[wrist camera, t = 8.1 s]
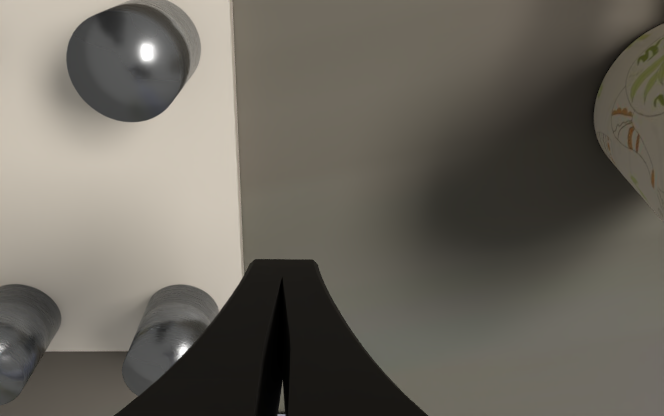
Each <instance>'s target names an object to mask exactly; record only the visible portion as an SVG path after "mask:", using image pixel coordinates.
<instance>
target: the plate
mask: <svg viewBox="0 0 664 416" xmlns="http://www.w3.org/2000/svg"><path fill="white" fill-rule="evenodd" d="M127 1H129V0H0V287H1V286H4V285H8V284H22V285H27V286H31V287H34V288H36V289H39V290H41V291H42V292H44V293H45V294H47V295H48V296H49V297H50V298H51V299H52V300H53V301H54V302H55V303H56V305H57V306H58V308H59V310H60V313H61V325H60V328H59V330H58V331H57V333H56V335H55V336H54V338H53V340H52V341H51V343H50V344H49V346H48V348H47V349H46V351H45V352H47V351H129V348H130V346H131V343H132V341H133V338H134V336H135V334H136V331H137V329H138V326H139V324H140V321H141V319H142V317H143V314H144V312H145V309H146V307H147V304H148V302H149V300H150V298H151V297H152V296H153V295H154V294H155V293H156V292H157V291H158V290H160V289H162V288H164V287H167V286H170V285H178V284H183V285H190V286H194V287H197V288H199V289H201V290H203V291H205V292H206V293H208V294H209V295H210V296H211V297H212V298H213V299H214V301H215V302H216V304H217V306H218V309H219V312H220V310H221V309H222V307H223V306H224V305H225V303H226V302H227V301H228V299H229V298H230V296H231V295H232V294H233V292H234V290H235V289H236V287H237V286H238V284H239V283H240V281H241V279H242V278H243V276H244V262H243V239H242V215H241V192H240V169H239V145H238V122H237V98H236V75H235V51H234V28H233V4H232V0H168V1H170V2H172V3H174V4H175V5H177V6H178V7H180V8H181V9H182V10H183V11H184V12H185V13H186V14H187V15H188V16H189V17H190V19H191V20H192V22H193V23H194V25H195V27H196V29H197V32H198V34H199V38H200V43H201V56H200V61H199V64H198V66H197V69H196V70H195V72H194V74H193V75H192V76H191V78H190V79H189V80H188V82H187V83H186V84H185V86H184V87H183V88H182V90H181V91H180V92H179V94H178V95H177V96H176V98H175V99H174V101H173V102H172V103H171V104H170V106H169V107H168V108H167V109H166V110H165V111H164V112H163V113H161V114H159V115H158V116H156V117H154V118H152V119H149V120H146V121H141V122H122V121H117V120H114V119H111V118H108V117H106V116H104V115H102V114H100V113H99V112H97V111H95V110H94V109H93V108H92V107H90V106H89V105H88V104H87V103H86V102H85V101H84V100H83V99H82V98H81V97H80V95H79V94H78V92H77V91H76V89H75V88H74V86H73V84H72V82H71V79H70V77H69V73H68V69H67V63H66V53H67V47H68V43H69V40H70V38H71V36H72V34H73V32H74V31H75V30H76V28H77V27H78V26H79V25H80V24H81V23H82V22H83V21H85V20H86V19H87V18H89V17H91V16H93V15H95V14H98V13H100V12H103V11H105V10H107V9H110V8H112V7H115V6H117V5H119V4H122V3H124V2H127Z"/></svg>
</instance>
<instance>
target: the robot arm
mask: <svg viewBox="0 0 664 416" xmlns="http://www.w3.org/2000/svg"><path fill="white" fill-rule="evenodd" d="M282 380H283V389H284V403H285V414H278V408H279V401H280V394H281V387H282ZM114 416H428V415H427V414H426V413H425V412H424V411H422V410H421V409H420V408H419V407H418V406H417V405H416V404H415V403H414V402H413V401H411V400H410V399H409V398H408V397H407V396H406V395H405V394H404V393H403V392H402V391H401V390H400V389H399V388H398V387H397V386H396V385H395V384H394V383H393V382H392V381H391V379H390V378H389V377H388V376H387V375H386V374H385V373H384V372H383V371H382V369H381V368H380V367H379V366H378V365H377V364H376V363H375V361H374V360H373V359H372V358H371V356H370V355H369V354H368V353H367V351H366V350H365V349H364V347H363V346H362V345H361V343H360V342H359V340H358V339H357V338H356V336H355V335H354V333H353V332H352V331H351V329H350V328H349V326H348V325H347V323H346V321H345V320H344V318H343V317H342V315H341V313H340V312H339V310H338V308H337V307H336V305H335V303H334V301H333V299H332V298H331V296H330V294H329V292H328V290H327V288H326V286H325V284H324V281H323V279H322V277H321V274H320V271H319V268H318V264H317V263H316V262H315V261H314V260H285V259H255V260H254V261H253V262H252V263H250V265H249V267H248V269H247V271H246V273H245V274H244V276H243V278H242V279H241V281H240V283H239V284H238V286H237V287H236V289H235V290H234V292H233V294H232V295H231V296H230V298H229V299H228V301H227V302H226V303H225V305H224V306H223V307H222V309H221V310H220V312H219V313H218V314H217V316H216V317H215V318H214V320H213V321H212V322H211V323H210V324H209V326H208V327H207V328H206V329H205V330H204V332H203V333H202V334H201V335H200V336H199V338H198V339H197V340H196V341H195V342H194V343H193V345H192V346H191V347H190V348H189V349H188V350H187V351H186V352H185V353H184V354H183V355H182V356H181V357H180V358H179V359H178V360H177V361H176V362H175V363H174V364H173V365H172V366H171V367H170V368H169V369H168V370H167V371H166V372H165V373H164V374H163V375H162V376H161V377H160V378H159V379H158V380H156V381H155V382H154V383H153V384H152V385H151V386H150V387H148V388H147V389H146V390H145V391H144V392H143V393H142V394H140V395H139V396H138V397H137V398H136V399H135V400H133V401H132V402H131V403H130V404H128V405H127V406H126V407H125V408H123V409H122V410H121V411H120V412H118V413H117V414H115V415H114Z"/></svg>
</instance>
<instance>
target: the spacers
mask: <svg viewBox="0 0 664 416" xmlns="http://www.w3.org/2000/svg"><path fill="white" fill-rule="evenodd" d="M200 56H201V43H200V38H199V34H198V32H197V29H196V27H195V25H194V23H193V22H192V20H191V19H190V17H189V16H188V15H187V14H186V13H185V12H184V11H183V10H182V9H181V8H180V7H178V6H177V5H175V4H174V3H172V2H170V1H168V0H129V1H127V2H124V3H122V4H119V5H117V6H115V7H112V8H110V9H107V10H105V11H103V12H100V13H98V14H95V15H93V16H91V17H89V18H87V19H86V20H85V21H83V22H82V23H81V24H80V25H79V26H78V27H77V28H76V30H75V31H74V32H73V34H72V36H71V38H70V40H69V43H68V47H67V53H66V63H67V69H68V73H69V77H70V79H71V82H72V84H73V86H74V88H75V89H76V91H77V92H78V94H79V95H80V97H81V98H82V99H83V100H84V101H85V102H86V103H87V104H88V105H89V106H90V107H92V108H93V109H94V110H95V111H97V112H99V113H100V114H102V115H104V116H106V117H108V118H111V119H114V120H117V121H122V122H141V121H146V120H149V119H152V118H154V117H156V116H158V115H159V114H161V113H163V112H164V111H165V110H166V109H167V108H168V107H169V106H170V104H171V103H172V102H173V101H174V99H175V98H176V96H177V95H178V94H179V92H180V91H181V90H182V88H183V87H184V86H185V84H186V83H187V82H188V80H189V79H190V78H191V76H192V75H193V74H194V72H195V70H196V69H197V66H198V64H199V61H200ZM218 313H219V309H218V306H217V304H216V302H215V301H214V299H213V298H212V297H211V296H210V295H209V294H208V293H206V292H205V291H203V290H201V289H199V288H197V287H194V286H190V285H183V284H178V285H170V286H167V287H164V288H162V289H160V290H158V291H157V292H156V293H155V294H154V295H153V296H152V297H151V298H150V300H149V302H148V304H147V307H146V309H145V312H144V314H143V317H142V319H141V321H140V324H139V326H138V329H137V331H136V334H135V336H134V338H133V341H132V343H131V346H130V348H129V351H128V353H127V355H126V358H125V360H124V363H123V367H122V375H123V378H124V381H125V383H126V384H127V386H128V387H129V388H130V390H131V391H132V392H134V393H135V394H136V395H138V396H139V395H140V394H142V393H143V392H144V391H145V390H146V389H147V388H148V387H150V386H151V385H152V384H153V383H154V382H155V381H156V380H158V379H159V378H160V377H161V376H162V375H163V374H164V373H165V372H166V371H167V370H168V369H169V368H170V367H171V366H172V365H173V364H174V363H175V362H176V361H177V360H178V359H179V358H180V357H181V356H182V355H183V354H184V353H185V352H186V351H187V350H188V349H189V348H190V347H191V346H192V345H193V343H194V342H195V341H196V340H197V339H198V338H199V336H200V335H201V334H202V333H203V332H204V330H205V329H206V328H207V327H208V326H209V324H210V323H211V322H212V321H213V320H214V318H215V317H216V316H217V314H218ZM60 325H61V313H60V310H59V308H58V306H57V305H56V303H55V302H54V301H53V300H52V299H51V298H50V297H49V296H48V295H47V294H45V293H44V292H42V291H41V290H39V289H36V288H34V287H31V286H27V285H22V284H8V285H4V286H1V287H0V405H3V404H6V403H8V402H10V401H12V400H14V399H15V398H16V397H17V396H18V395H19V394H20V392H21V391H22V389H23V387H24V386H25V384H26V382H27V381H28V379H29V377H30V376H31V374H32V372H33V371H34V369H35V368H36V366H37V364H38V363H39V361H40V359H41V358H42V356H43V354H44V353H45V351H46V349H47V348H48V346H49V344H50V343H51V341H52V340H53V338H54V336H55V335H56V333H57V331H58V330H59V328H60Z"/></svg>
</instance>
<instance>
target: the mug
mask: <svg viewBox="0 0 664 416" xmlns="http://www.w3.org/2000/svg"><path fill="white" fill-rule="evenodd" d="M594 127H595V132H596V136H597V139H598V141H599V144H600V146H601V148H602V149H603V151H604V153H605V154H606V155H607V157H608V158H609V159H610V160H611V162H612V163H613V164H614V165H615V166H616V168H617V169H618V170H619V171H620V172H621V173H622V175H623V176H624V177H625V178H626V179H627V180H628V182H629V183H630V184H631V185H632V186H633V187H634V189H635V190H636V191H637V192H638V193H639V194H640V196H641V197H642V198H643V199H644V200H645V201H646V203H647V204H648V205H649V206H650V207H651V208H652V210H653V211H654V212H655V213H656V214H657V215H658V217H659V218H660V219H661V220H662V221H663V222H664V24H661V25H659V26H657V27H655V28H653V29H651V30H650V31H648V32H646V33H645V34H643V35H642V36H640V37H639V38H638V39H636V40H635V41H634V42H633V43H632V44H630V45H629V46H628V47H627V48H626V49H625V50H624V51H623V52H622V53H621V54H620V55H619V57H618V58H617V59H616V60H615V62H614V63H613V64H612V66H611V67H610V69H609V70H608V72H607V74H606V75H605V77H604V79H603V81H602V84H601V86H600V88H599V91H598V94H597V98H596V102H595V108H594Z"/></svg>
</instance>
